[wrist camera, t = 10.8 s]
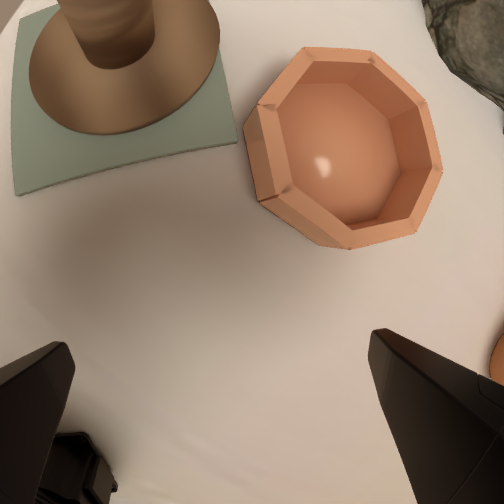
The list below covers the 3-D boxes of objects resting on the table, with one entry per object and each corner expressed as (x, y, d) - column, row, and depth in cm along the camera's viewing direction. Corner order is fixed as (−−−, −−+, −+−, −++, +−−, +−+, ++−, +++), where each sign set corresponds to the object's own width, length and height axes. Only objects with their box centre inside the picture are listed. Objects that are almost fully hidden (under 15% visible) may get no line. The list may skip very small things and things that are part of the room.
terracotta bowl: (267, 257, 21) (289, 265, 16) (231, 80, 19) (243, 48, 15) (412, 223, 23) (451, 223, 19) (379, 77, 22) (411, 56, 17)
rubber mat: (19, 196, 17) (15, 195, 16) (22, 22, 15) (19, 19, 15) (236, 143, 20) (238, 140, 19) (202, -23, 18) (202, -27, 18)
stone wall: (548, 148, 29) (600, 141, 19) (503, 204, 26) (578, 203, 16) (424, -61, 23) (461, -92, 13) (335, -69, 20) (373, -122, 10)
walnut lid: (98, 179, 18) (46, 149, 10) (8, 60, 15) (-41, 8, 7) (257, 54, 19) (294, -17, 11) (148, -38, 16) (146, -108, 9)
